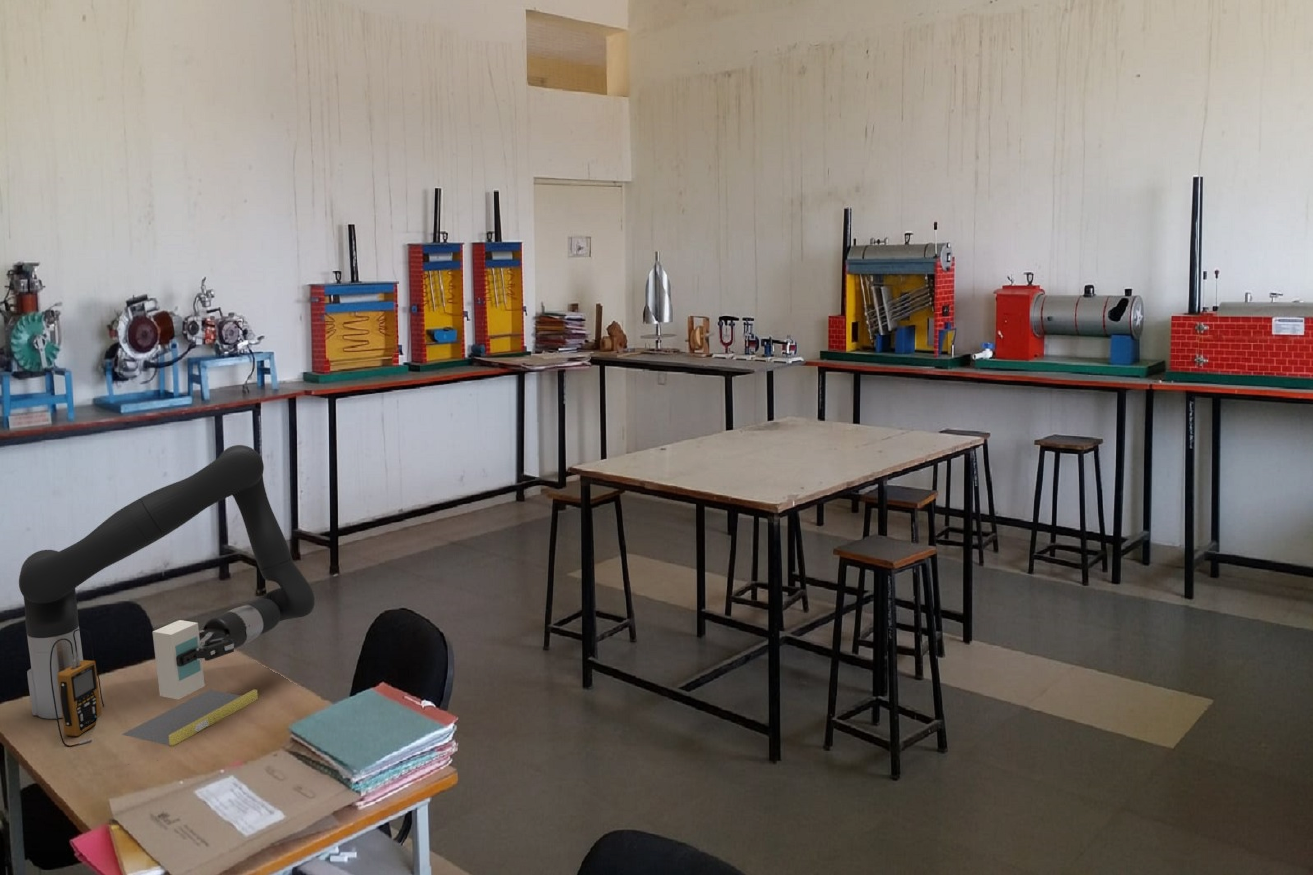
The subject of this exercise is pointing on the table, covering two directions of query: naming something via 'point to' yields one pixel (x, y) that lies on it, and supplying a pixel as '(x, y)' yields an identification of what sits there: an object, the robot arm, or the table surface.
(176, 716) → the shelf
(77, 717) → the multimeter
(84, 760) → the table surface
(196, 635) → the carton
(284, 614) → the robot arm
